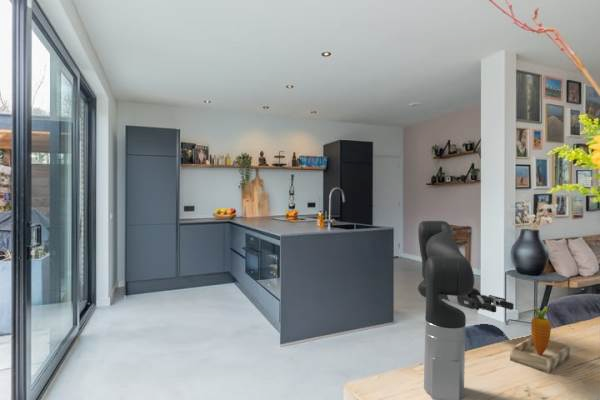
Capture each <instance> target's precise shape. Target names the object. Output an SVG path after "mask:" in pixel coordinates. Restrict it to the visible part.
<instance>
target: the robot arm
mask: <svg viewBox="0 0 600 400" xmlns="http://www.w3.org/2000/svg"><path fill="white" fill-rule="evenodd" d="M417 233H418V234H417V235H418V244H419V245H418V246H419V250H420V251H419V252H420V258H421V275H422V278H423V280H422V281H421V282H420V283H419V284H418V286H417V289H418V290H417V291H418V293H419V294H420V295H421V296H423V297H424V298H425V317H424V318H425V323H424V355H423V356H424V357H423V358H424V362H423V363H424V364H423V368H424V369H423V389H424V391H426V393H427V394H429V395H430V398H431V399H435V400H462V399H463V398H464V397H465V366H466V365H465V362H466V358H465V357H466V321H467V317H466V314H465V312H464V311H463V310H461V309H459V308H458V307H455V306H453V305H451V304H450V303H447V302H445V301H448V302H451V303H453V304H455V305H458V306H461V307H463V308H467V309H470V310H477V311H479V310H481V311H488V312H491V313H497V307H500V308H503V309H506V310H507V309H508V310H510V311H513V310H514V303H513V302H509V301H506V298H503V297H499V296H496V295H495V296H494V295H492V294H488V295H487V294H482V293H480V290H478V289H477V288H475V287H474V286H475V275H474V270H473V268H472V265H471V263H470V262H469V260H468V258H467V257H466V256H465V255H463V253H462V252H461V250H460V248H459V245H458V244H457V242H456V240H455V239H454V236H453V232H452V228H451V226H450V224H449V223H448V222H447V221H444V220H423V221H421V222H420V223H419V225H418V232H417ZM444 300H445V301H444Z"/></svg>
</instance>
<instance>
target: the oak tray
mask: <svg viewBox="0 0 600 400" xmlns="http://www.w3.org/2000/svg"><path fill="white" fill-rule="evenodd" d="M509 352H510V353H509V360H510V361H511V362H514V363H516V364H520V365H523V366H526V367H528V368H531V369H535V370H537V371H540V372H543V373H546V374H548V375H550V374H551V373H552V372H553V371H554V370H556V369H557V368H559V366H561V365H563V363H564V362H566V361H567V360H569V359H570V358H571V345H569V344H564V343H561V342H558V341H554V340H550V339H549V343H548V346H547V348H546V350H545V351H544V353H543V354H542V355H539V354H538V353H537V351H536V349H535V347H534V344H533V340H532V336H530V337H528V338H527V339H525V340H523V341H522V342H520V343H518V344H515V345H514V346H512V347H511V348H510V349H509Z"/></svg>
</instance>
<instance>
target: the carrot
mask: <svg viewBox="0 0 600 400" xmlns="http://www.w3.org/2000/svg"><path fill="white" fill-rule="evenodd" d="M533 310H534V312H535V314H536V315H537V316H534V317H533V318H532V319H531V323H530V324H531V325H530V326H531V327H530V329H531V330H530V331H531V337H532V340H533V344H534V347H535V349H536V351H537V353H538V354H539V355H542V354H543V353H544V351H545V350H546V348H547V346H548V343H549V340H550V338H551V331H552V323H551V320H549V319H547V318H545V316H546V314H547V311H548V306H547V305H546V306H544V307H543V309H542V310H541V311H540V310H538V308H537V307H533Z"/></svg>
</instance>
